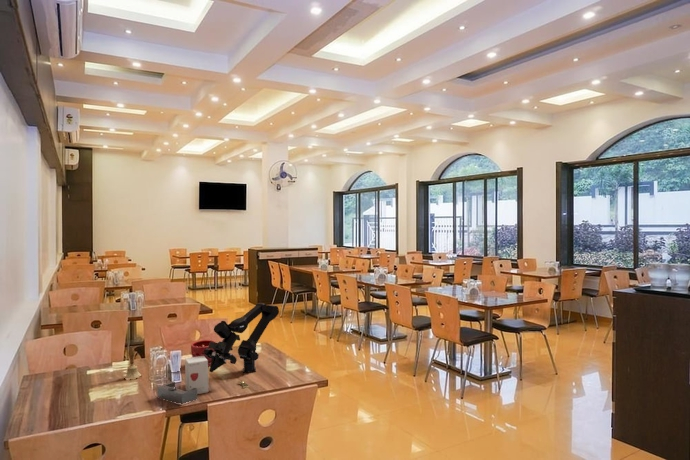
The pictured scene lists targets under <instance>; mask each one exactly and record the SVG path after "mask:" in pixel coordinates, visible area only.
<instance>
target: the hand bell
mask: <svg viewBox="0 0 690 460" xmlns="http://www.w3.org/2000/svg"><path fill="white" fill-rule="evenodd" d="M128 357H129V359H130V360H129V366H128V367H127V372H126V375H125V376H124V377H125V378H136V377H139V376H141V375H142V374H141V373H140V372H139V369H138V365H135V361H134V358H135V350H134V348H133V346H132V345H130V346H129V349H128Z"/></svg>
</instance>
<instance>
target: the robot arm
mask: <svg viewBox="0 0 690 460" xmlns="http://www.w3.org/2000/svg"><path fill="white" fill-rule="evenodd" d="M279 314H280V309H279V307H278V306H277V305H272V304H266V303H262V302H259V303H256V304H255V306H254V307H252V308H250V310H249V311H248V312H246V313H245V314H244V315H242V316H241V317H237V318H235V319H234V320H232V321H231V322H230V323H227V322H226V320H221V321H220V322H219V323H217V324H215V325H214V327H213V332H214V333H215V334H216V335H218V336H219V338H221V339H222V340H221V341H218V342H216V341H215V342H210V344H209V347H208V348H212V349H214V351H215V352H216V353H215V352H214V351H213V350H212V349H205V350H204V351H203V353H204V354H205V355H206V356H207V357H208V358H210V359H212V360H211V365H210V366H209V369H208V372H210V373H213V372H214V371H216V370H217V369H218V368H220V367H222V366H224V365H227V360H228V361H229V362H230V364H233V365H236V363H237V360H238V359H237V357H236V356H235V355H234V354H233V353H231V351H232V352H233V350H234V349H233V346H234V344H235V343H236V341H238V342H239V341H240V344H239V345H238V348H237V353H238V354H237V355H238V356H239V358H240V359H241V360H243V367H242V373H243V374H246V373H254V372H257V368H256V361H257V360H258V359H259V356H260V354H259V353H258V352H257V343H258V342H259V340H260V339H261V337H262V335H263V333H264V332H265V330H266V329H267V328H268V325H270V324H269V323H270V322H272V321H273V320H275V319H276V317H278V316H279ZM260 315H261V318H260V319H259V321H258V323H257V324H256V326H255V328H254V329H253V330H252V332H251V334H250V335H249V337H248V338H247V339H246V340H244V339H243V340H241V338H240V335H239V334H242V333H244V332H245V331H246V330H247V328H248V326H249V324H250V323H252V322H253V320H255V319H256V318H257V317H258V316H260Z"/></svg>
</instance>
